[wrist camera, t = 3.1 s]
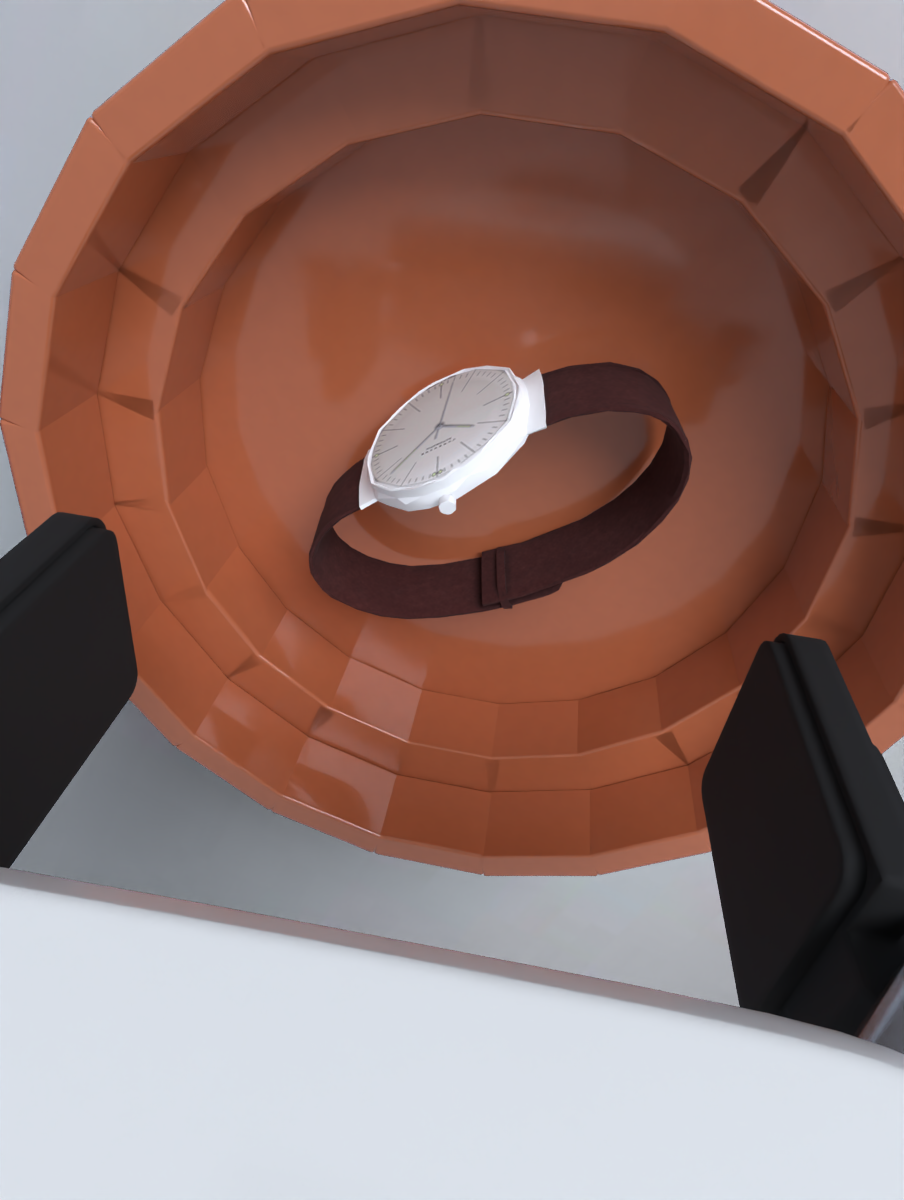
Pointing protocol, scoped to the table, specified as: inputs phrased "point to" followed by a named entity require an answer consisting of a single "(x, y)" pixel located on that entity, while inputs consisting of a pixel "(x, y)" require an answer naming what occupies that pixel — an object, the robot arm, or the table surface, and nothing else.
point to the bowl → (466, 340)
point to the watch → (473, 455)
